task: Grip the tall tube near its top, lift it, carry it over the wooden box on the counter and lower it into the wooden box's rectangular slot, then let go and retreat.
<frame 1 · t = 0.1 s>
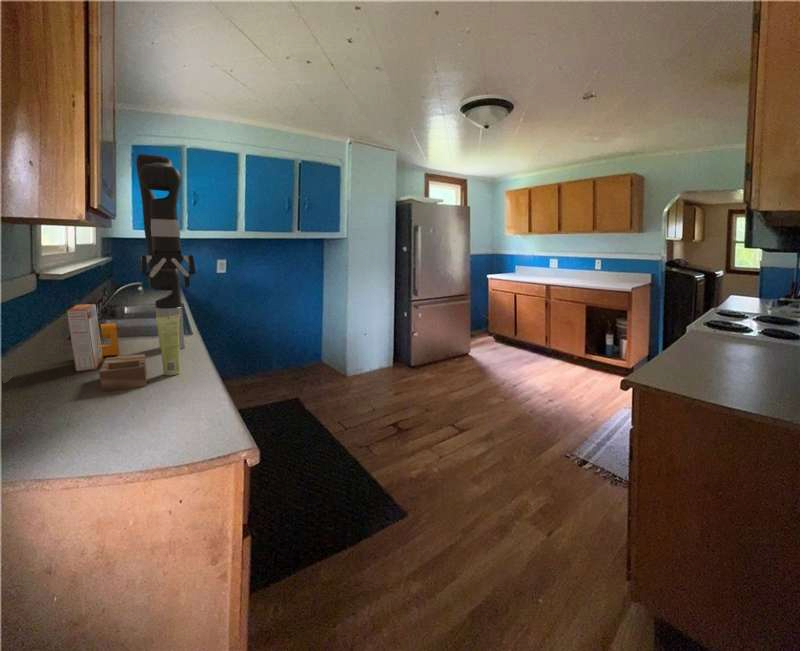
hand: (170, 289, 126), 29 cm above the counter, tool pointing down, fingers open, 8 cm apart
wooden box: (126, 381, 128), on the counter
tube: (173, 374, 137), on the counter
bracket: (107, 354, 158), on the counter
cracker box: (89, 366, 143), on the counter
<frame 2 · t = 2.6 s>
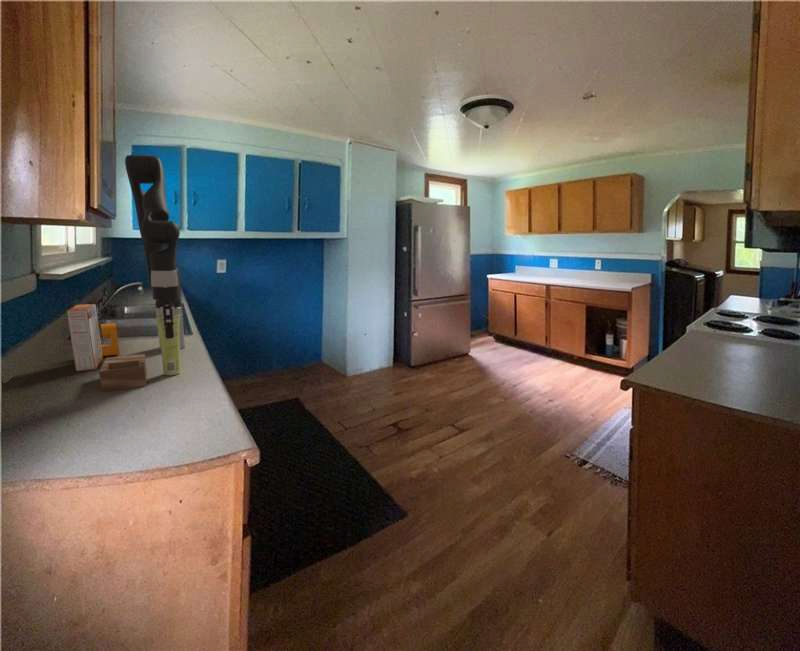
hand: (169, 336, 134), 13 cm above the counter, tool pointing down, fingers closed on tube, 4 cm apart
tube: (173, 374, 137), on the counter, touching gripper
everything else where it was.
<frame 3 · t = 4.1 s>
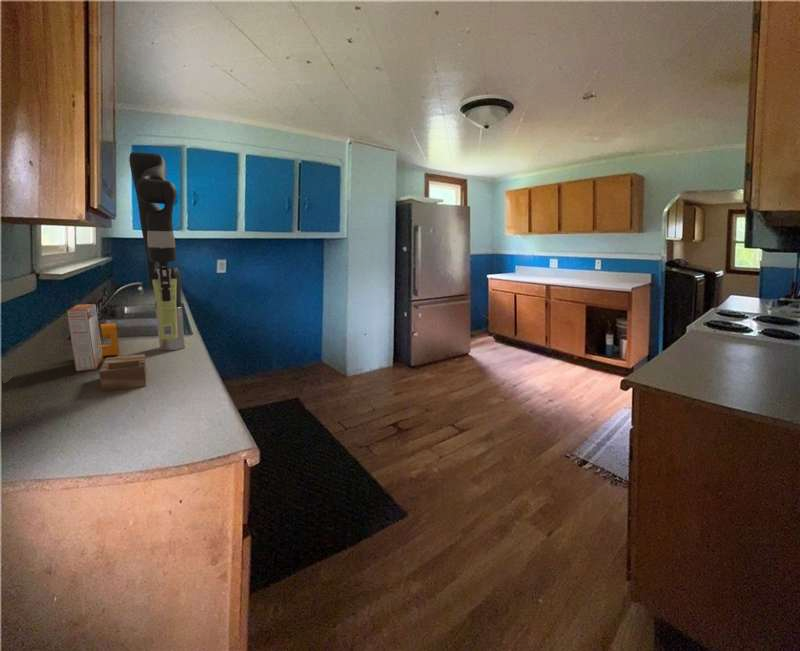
hand: (166, 299, 132), 25 cm above the counter, tool pointing down, fingers closed on tube, 4 cm apart
tube: (169, 338, 134), point 12 cm above the counter, touching gripper
everything else where it was.
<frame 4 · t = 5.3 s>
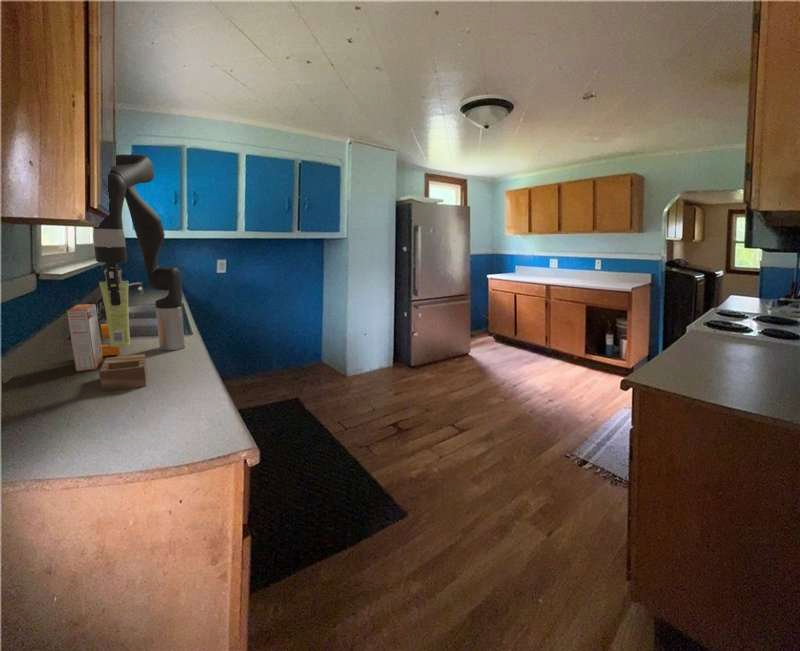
hand: (116, 303, 121), 25 cm above the counter, tool pointing down, fingers closed on tube, 4 cm apart
tube: (121, 346, 124), point 12 cm above the counter, touching gripper
everything else where it was.
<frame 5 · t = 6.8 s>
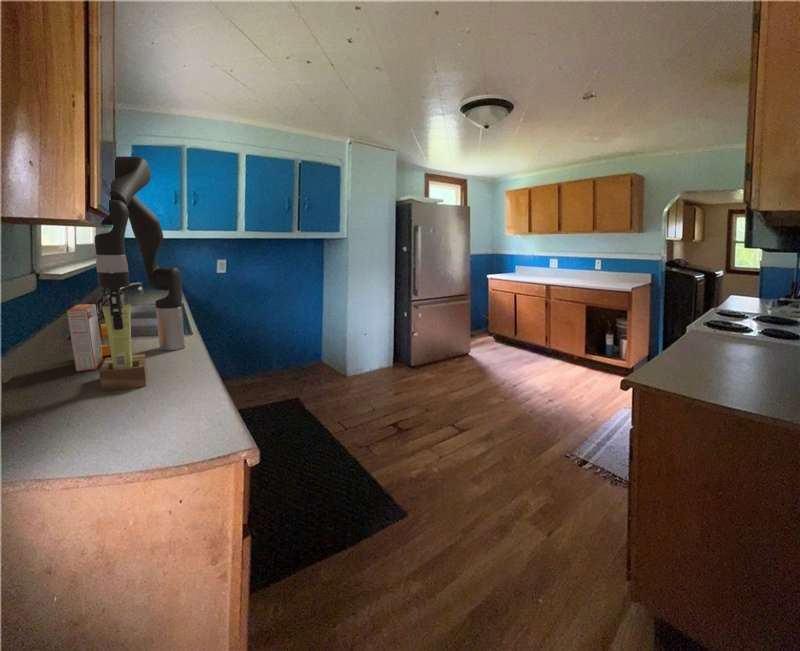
hand: (119, 327, 122), 18 cm above the counter, tool pointing down, fingers closed on tube, 4 cm apart
tube: (123, 368, 125), point 5 cm above the counter, touching gripper
everything else where it was.
when the fingers open (14 cm above the counter, at t = 8.1 s): tube drops 1 cm, resting in wooden box.
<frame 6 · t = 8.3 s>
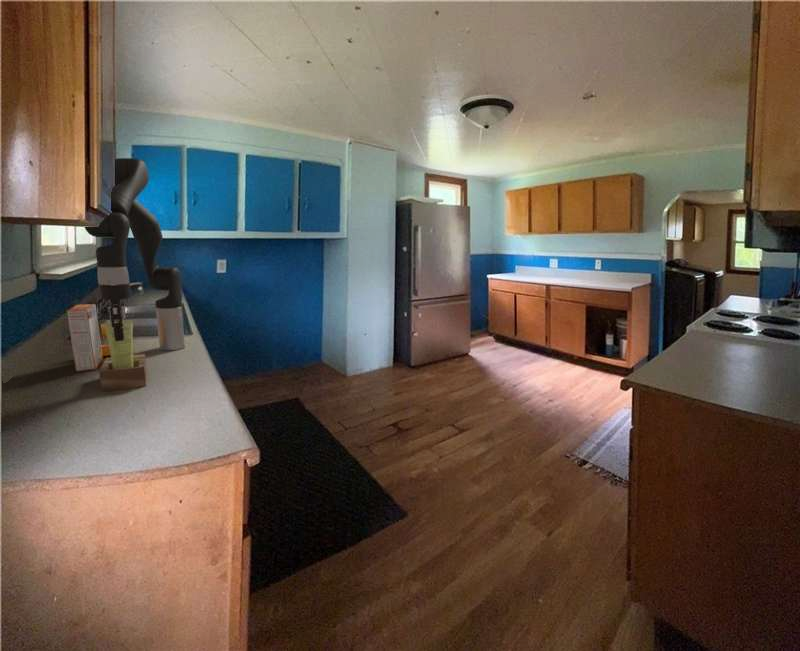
hand: (120, 338, 123), 14 cm above the counter, tool pointing down, fingers open, 5 cm apart
tube: (125, 384, 126), resting in wooden box
everything else where it was.
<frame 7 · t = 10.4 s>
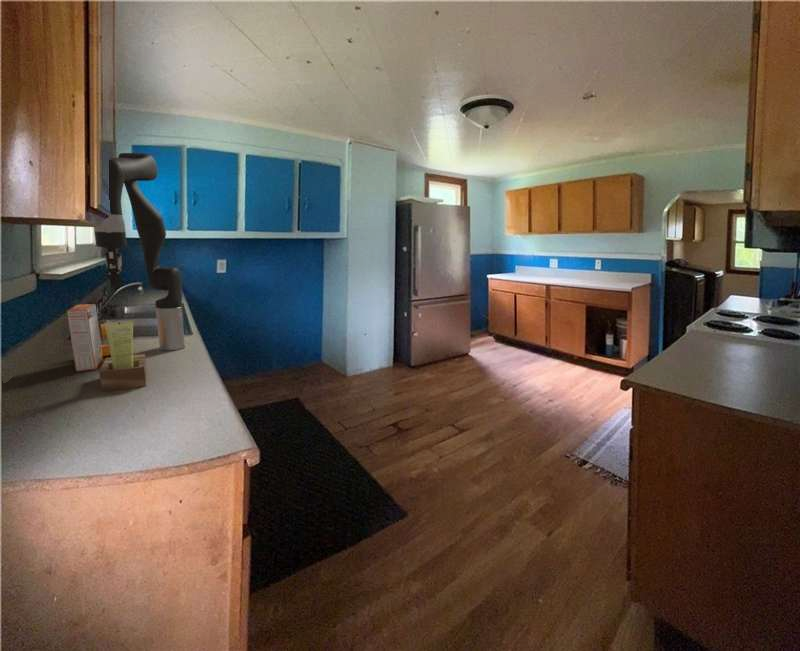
hand: (116, 285, 123), 30 cm above the counter, tool pointing down, fingers open, 8 cm apart
nothing on the counter moved.
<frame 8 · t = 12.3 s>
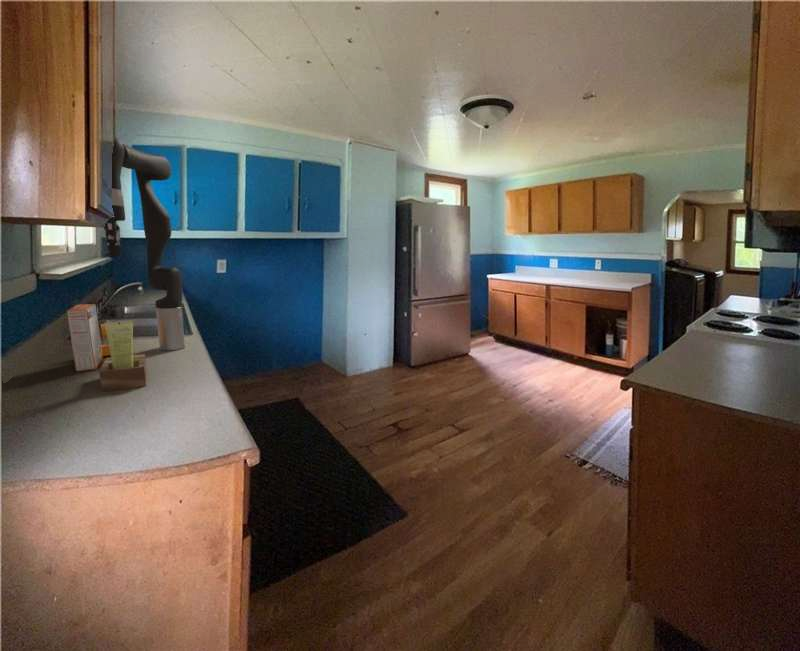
hand: (115, 257, 129), 38 cm above the counter, tool pointing down, fingers open, 8 cm apart
nothing on the counter moved.
at the end: tube 0.1 cm from the target spot on the wooden box, point 0.0 cm above the wooden box's base; tube tilted 0°; the gripper is holding nothing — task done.
